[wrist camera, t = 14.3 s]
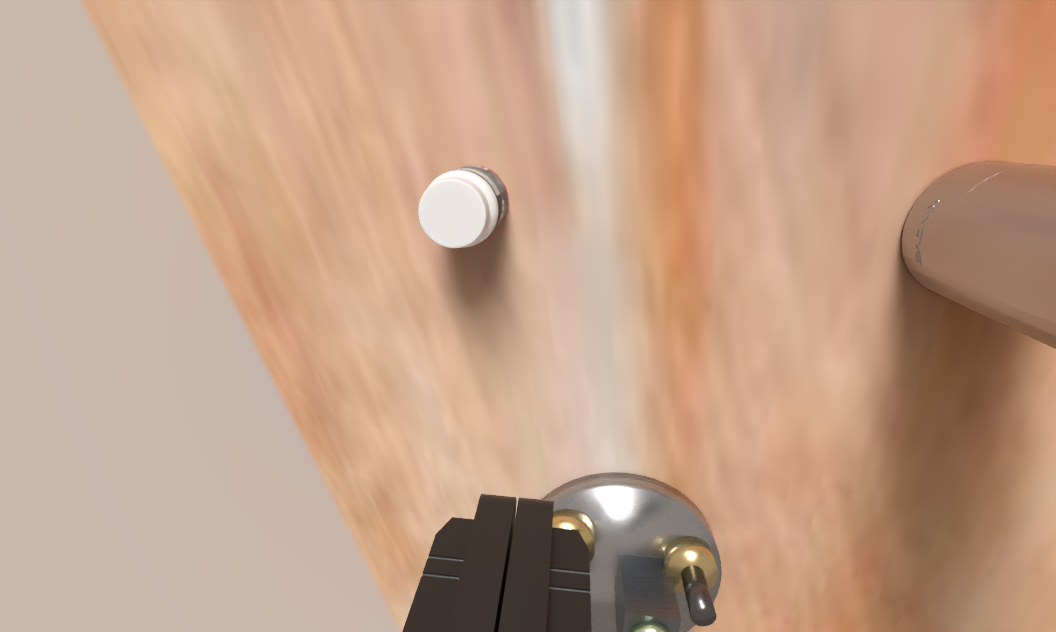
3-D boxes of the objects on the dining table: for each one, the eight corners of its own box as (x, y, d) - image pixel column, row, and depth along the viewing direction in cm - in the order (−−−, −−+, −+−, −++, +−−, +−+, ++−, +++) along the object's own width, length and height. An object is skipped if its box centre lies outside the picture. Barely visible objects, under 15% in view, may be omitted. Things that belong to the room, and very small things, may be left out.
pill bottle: (481, 244, 41) (459, 272, 34) (430, 202, 41) (395, 220, 33) (522, 194, 40) (509, 211, 32) (470, 149, 39) (444, 155, 31)
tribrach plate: (731, 482, 46) (765, 561, 38) (699, 641, 51) (723, 740, 43) (523, 463, 47) (512, 535, 39) (514, 621, 52) (502, 714, 44)
